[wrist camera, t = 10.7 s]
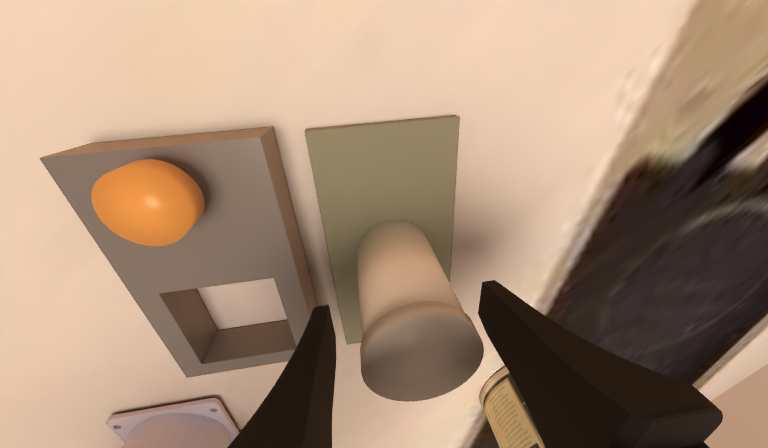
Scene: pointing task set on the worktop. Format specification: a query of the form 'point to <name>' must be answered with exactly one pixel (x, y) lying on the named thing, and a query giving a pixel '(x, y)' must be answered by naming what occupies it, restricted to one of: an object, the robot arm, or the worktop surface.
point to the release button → (148, 202)
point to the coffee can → (508, 413)
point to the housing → (205, 243)
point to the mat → (382, 191)
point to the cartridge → (410, 317)
